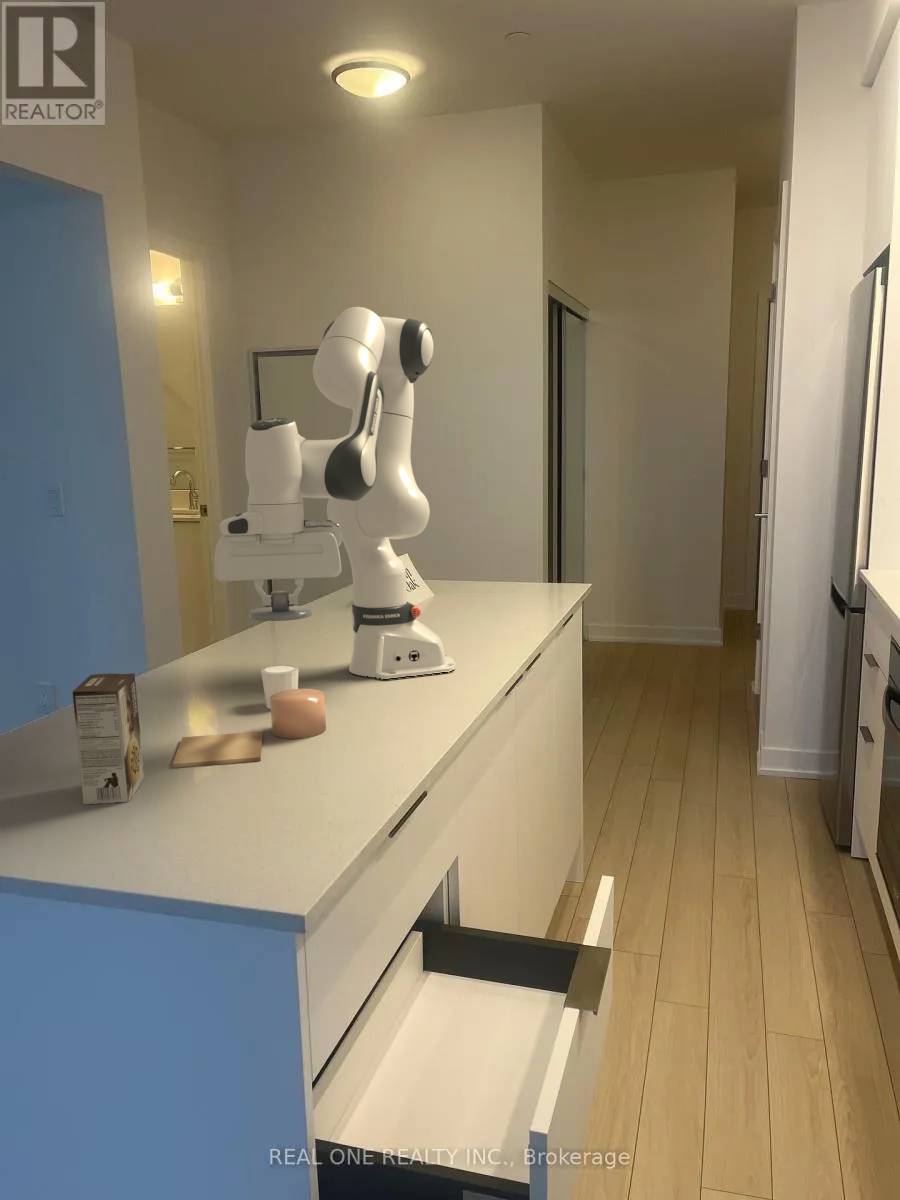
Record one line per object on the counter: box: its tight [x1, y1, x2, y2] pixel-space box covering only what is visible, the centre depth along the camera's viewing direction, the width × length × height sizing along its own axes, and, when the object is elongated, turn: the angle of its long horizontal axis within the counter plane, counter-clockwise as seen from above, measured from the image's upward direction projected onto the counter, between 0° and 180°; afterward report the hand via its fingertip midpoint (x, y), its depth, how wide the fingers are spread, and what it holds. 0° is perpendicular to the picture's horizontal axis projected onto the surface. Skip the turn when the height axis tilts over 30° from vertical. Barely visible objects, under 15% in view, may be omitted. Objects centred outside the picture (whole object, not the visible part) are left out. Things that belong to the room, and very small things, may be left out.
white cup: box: [260, 664, 299, 710], centre depth 170 cm, size 7×7×7 cm
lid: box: [249, 590, 313, 622], centre depth 150 cm, size 10×10×4 cm
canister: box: [270, 688, 327, 740], centre depth 155 cm, size 9×9×6 cm
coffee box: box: [71, 672, 145, 805], centre depth 129 cm, size 9×6×16 cm
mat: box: [172, 730, 264, 768], centre depth 147 cm, size 13×13×1 cm
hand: (280, 606), depth 150 cm, fingers closed on lid, 3 cm apart
